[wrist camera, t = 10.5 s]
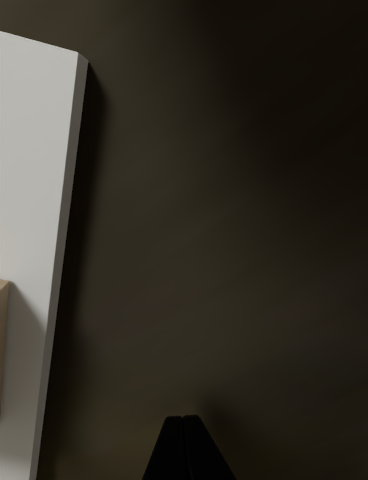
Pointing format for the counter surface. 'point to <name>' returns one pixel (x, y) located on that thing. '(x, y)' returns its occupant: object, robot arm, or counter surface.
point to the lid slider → (3, 327)
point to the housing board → (33, 227)
